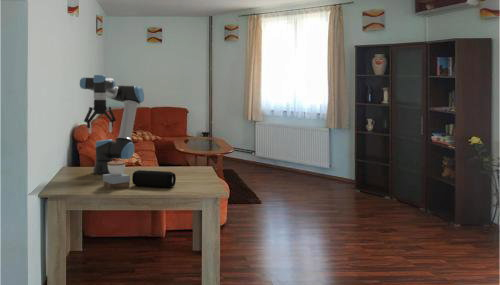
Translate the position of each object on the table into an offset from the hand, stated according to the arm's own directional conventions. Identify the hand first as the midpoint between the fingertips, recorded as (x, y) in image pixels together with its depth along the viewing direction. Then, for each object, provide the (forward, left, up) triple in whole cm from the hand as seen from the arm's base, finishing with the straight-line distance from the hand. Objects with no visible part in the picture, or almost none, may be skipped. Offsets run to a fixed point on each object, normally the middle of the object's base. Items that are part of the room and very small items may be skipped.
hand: (100, 132), depth 370 cm
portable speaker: (+32, +22, -32) cm, 50 cm away
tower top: (+21, +2, -28) cm, 35 cm away
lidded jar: (+21, +2, -24) cm, 32 cm away
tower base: (+21, +2, -32) cm, 38 cm away
